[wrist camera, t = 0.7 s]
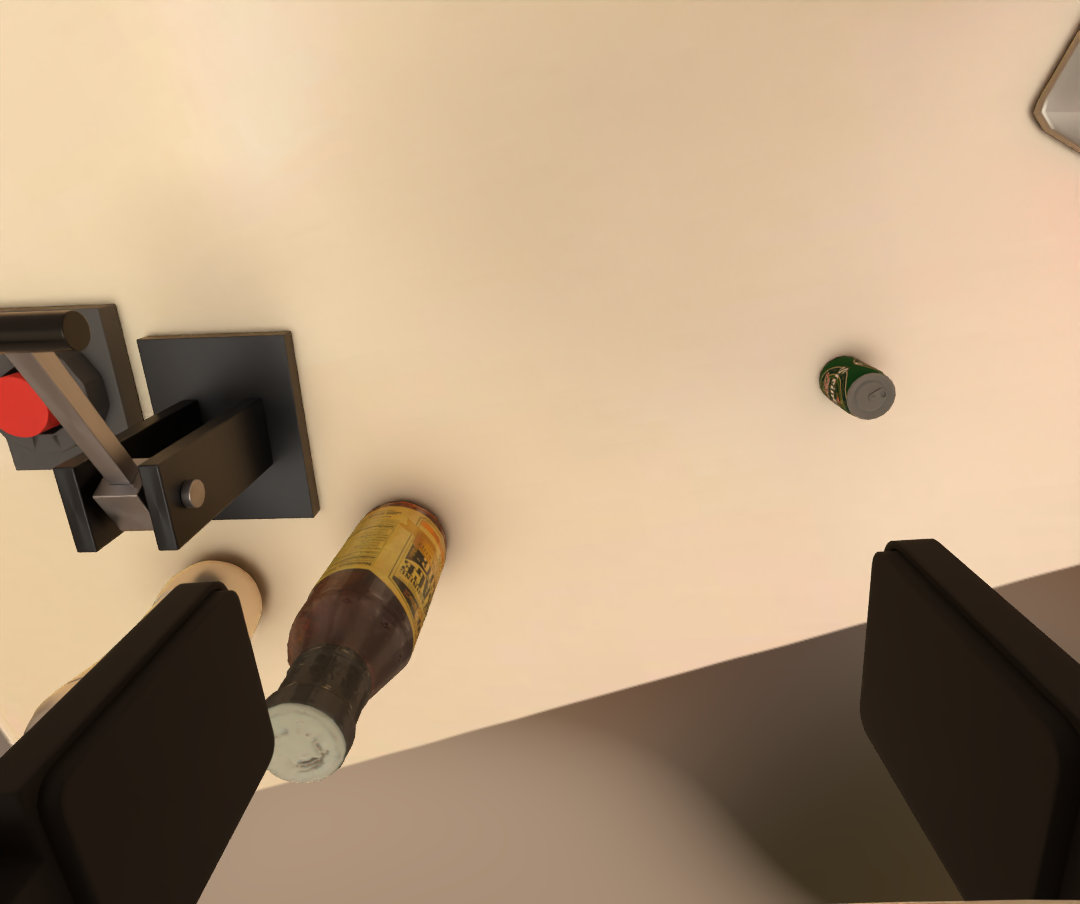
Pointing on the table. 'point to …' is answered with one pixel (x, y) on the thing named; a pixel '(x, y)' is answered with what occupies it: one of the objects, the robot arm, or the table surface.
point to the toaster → (1063, 99)
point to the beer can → (857, 387)
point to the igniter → (83, 388)
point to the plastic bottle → (193, 574)
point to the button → (23, 408)
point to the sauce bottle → (353, 637)
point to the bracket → (207, 440)
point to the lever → (75, 406)
